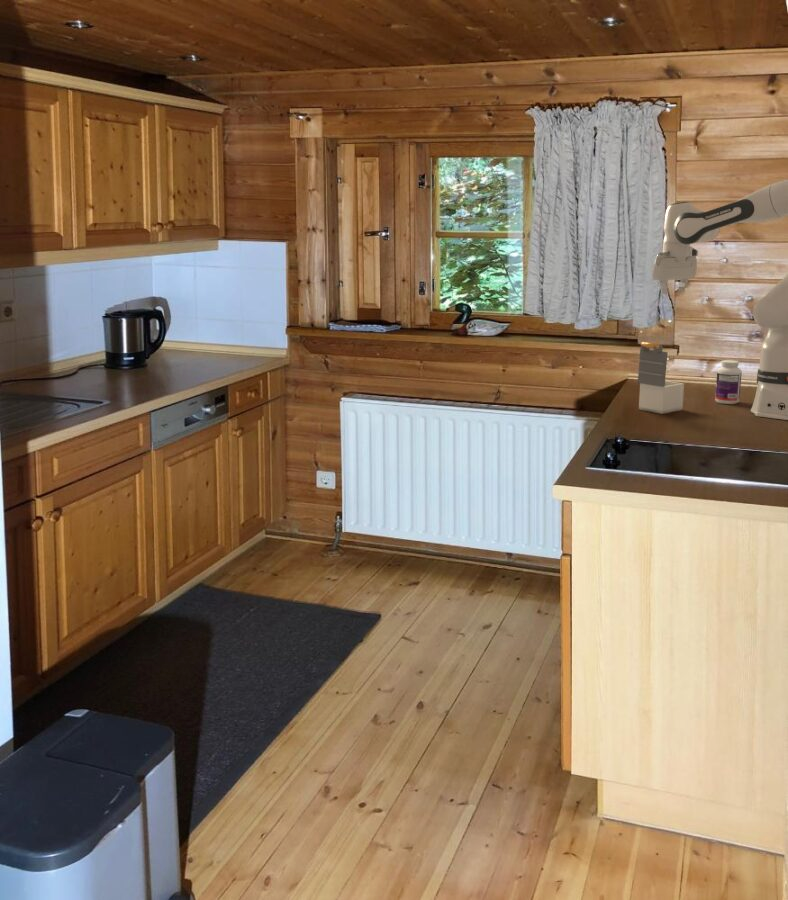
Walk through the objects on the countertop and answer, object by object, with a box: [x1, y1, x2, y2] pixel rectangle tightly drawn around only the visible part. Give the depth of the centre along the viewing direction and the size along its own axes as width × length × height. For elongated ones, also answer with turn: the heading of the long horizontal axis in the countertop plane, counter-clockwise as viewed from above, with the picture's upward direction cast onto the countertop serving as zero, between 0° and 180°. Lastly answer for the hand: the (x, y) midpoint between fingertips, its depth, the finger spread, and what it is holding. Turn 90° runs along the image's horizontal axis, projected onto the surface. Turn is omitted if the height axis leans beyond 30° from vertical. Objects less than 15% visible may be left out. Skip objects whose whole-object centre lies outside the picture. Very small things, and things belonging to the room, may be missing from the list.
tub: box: [638, 380, 685, 415], centre depth 351 cm, size 9×11×9 cm
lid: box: [637, 341, 668, 387], centre depth 344 cm, size 14×10×4 cm
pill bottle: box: [714, 359, 742, 405], centre depth 362 cm, size 8×8×14 cm
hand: (673, 292), depth 359 cm, fingers open, 8 cm apart
